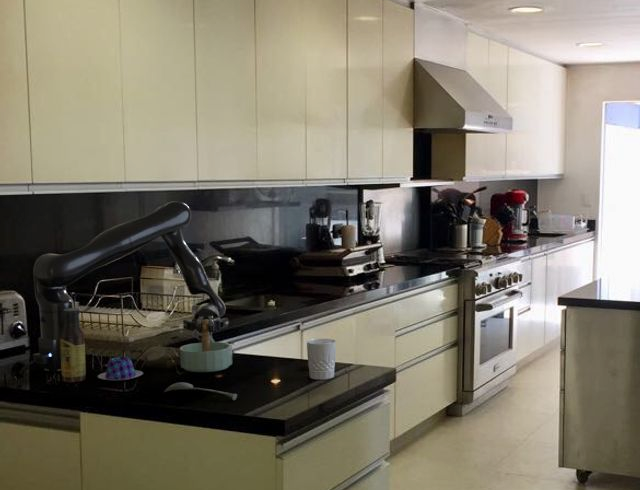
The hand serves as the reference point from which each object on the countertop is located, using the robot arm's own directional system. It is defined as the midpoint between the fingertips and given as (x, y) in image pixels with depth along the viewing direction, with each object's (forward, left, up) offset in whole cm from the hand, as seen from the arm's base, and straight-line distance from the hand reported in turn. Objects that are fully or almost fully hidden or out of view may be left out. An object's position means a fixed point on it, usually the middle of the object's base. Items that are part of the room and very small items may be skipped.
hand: (204, 328), depth 264 cm
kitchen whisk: (+26, +24, -12) cm, 37 cm away
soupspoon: (-23, -20, -12) cm, 33 cm away
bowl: (+2, +2, -12) cm, 12 cm away
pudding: (-19, +14, -12) cm, 26 cm away
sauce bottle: (-28, +22, -12) cm, 37 cm away
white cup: (+8, -35, -12) cm, 38 cm away
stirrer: (+2, +2, -11) cm, 11 cm away
